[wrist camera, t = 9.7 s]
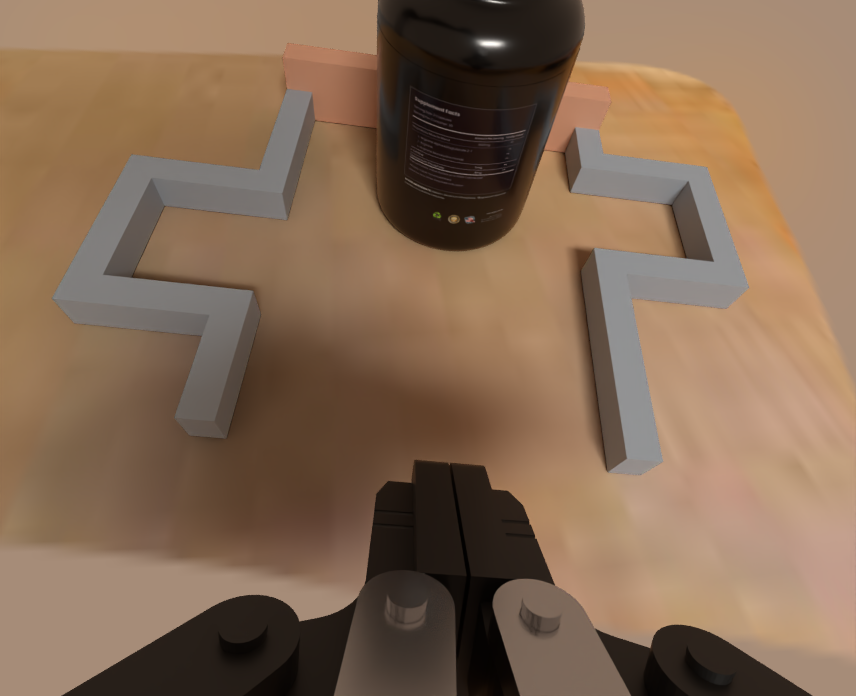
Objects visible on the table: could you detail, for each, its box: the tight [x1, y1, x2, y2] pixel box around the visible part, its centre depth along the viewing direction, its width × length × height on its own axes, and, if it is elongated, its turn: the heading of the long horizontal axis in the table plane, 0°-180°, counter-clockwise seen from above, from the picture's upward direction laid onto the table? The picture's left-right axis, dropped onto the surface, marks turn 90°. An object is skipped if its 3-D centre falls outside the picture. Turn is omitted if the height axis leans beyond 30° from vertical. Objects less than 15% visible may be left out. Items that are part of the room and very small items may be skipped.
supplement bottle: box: [376, 0, 585, 251], centre depth 18 cm, size 7×7×12 cm
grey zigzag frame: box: [52, 43, 749, 475], centre depth 20 cm, size 26×18×3 cm
